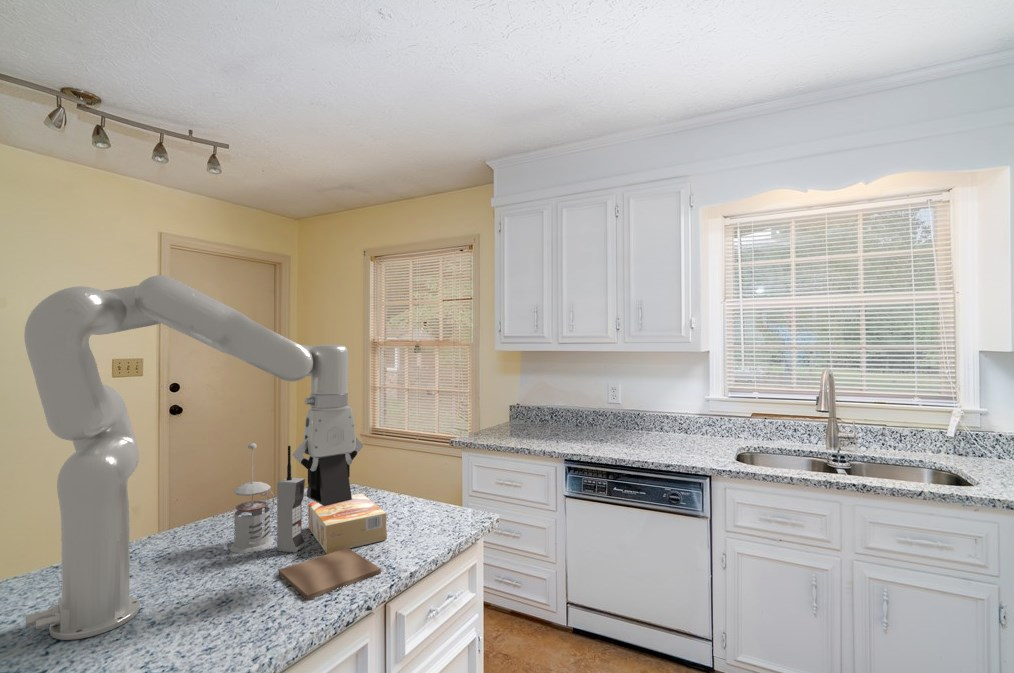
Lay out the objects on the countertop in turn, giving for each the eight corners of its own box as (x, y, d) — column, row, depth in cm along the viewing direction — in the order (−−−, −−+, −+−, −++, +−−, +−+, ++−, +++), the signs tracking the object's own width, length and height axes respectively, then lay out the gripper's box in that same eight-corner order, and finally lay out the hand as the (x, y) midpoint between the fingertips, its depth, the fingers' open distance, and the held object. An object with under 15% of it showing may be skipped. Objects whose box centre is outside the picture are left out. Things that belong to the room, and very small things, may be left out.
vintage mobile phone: (295, 553, 118) (295, 447, 118) (277, 551, 119) (277, 446, 119) (305, 546, 122) (305, 444, 122) (286, 545, 123) (287, 443, 123)
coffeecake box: (325, 524, 118) (307, 502, 134) (326, 555, 118) (307, 529, 134) (387, 511, 126) (362, 492, 142) (387, 540, 126) (363, 517, 142)
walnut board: (307, 600, 97) (307, 595, 97) (278, 574, 108) (278, 569, 108) (380, 573, 109) (380, 568, 109) (347, 551, 119) (347, 547, 119)
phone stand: (351, 500, 107) (352, 443, 107) (324, 506, 103) (325, 448, 103) (332, 490, 114) (333, 437, 114) (306, 496, 109) (306, 441, 109)
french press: (219, 550, 120) (219, 446, 120) (255, 532, 131) (255, 436, 131) (254, 555, 118) (254, 448, 118) (287, 535, 129) (287, 438, 129)
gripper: (296, 407, 100) (295, 498, 100) (374, 400, 112) (373, 481, 112) (281, 403, 105) (281, 489, 105) (357, 397, 117) (357, 474, 117)
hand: (329, 484), depth 108 cm, fingers closed on phone stand, 6 cm apart
